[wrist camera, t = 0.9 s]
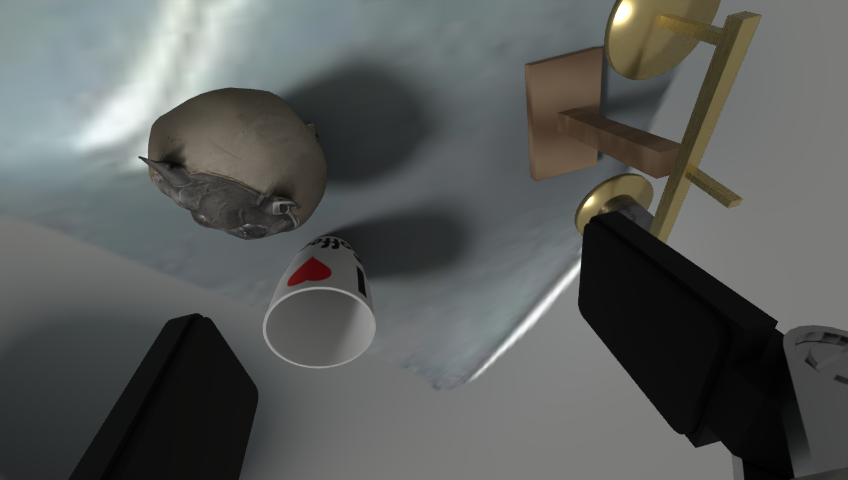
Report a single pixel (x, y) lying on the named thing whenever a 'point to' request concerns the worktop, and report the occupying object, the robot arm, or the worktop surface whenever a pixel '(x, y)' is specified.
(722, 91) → the balance beam
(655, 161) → the balance stand
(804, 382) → the robot arm
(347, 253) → the cup
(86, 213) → the worktop surface
